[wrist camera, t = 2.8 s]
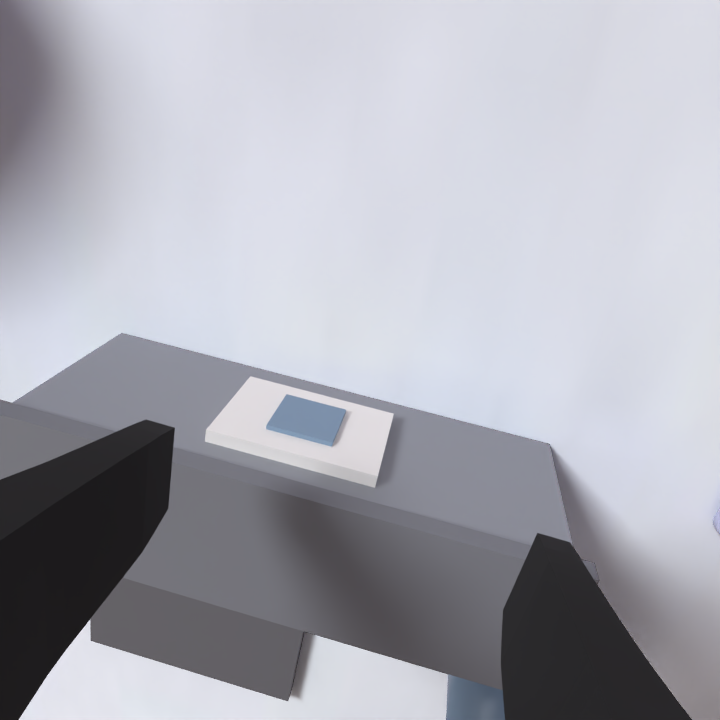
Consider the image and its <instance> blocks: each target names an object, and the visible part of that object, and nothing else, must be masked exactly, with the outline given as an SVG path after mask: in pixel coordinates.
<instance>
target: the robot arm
mask: <svg viewBox="0 0 720 720" xmlns="http://www.w3.org/2000/svg"><path fill="white" fill-rule="evenodd" d="M174 433H175V428H174V427H171V426H167V425H164V424H161V423H157V422H154V421H150V420H147V419H146V420H143V421H140V422H138V423H135V424H133V425H131V426H128V427H126V428H123V429H121V430H119V431H117V432H114V433H112V434H110V435H108V436H105V437H103V438H101V439H98V440H96V441H94V442H92V443H89V444H87V445H85V446H82V447H80V448H78V449H75V450H73V451H71V452H68V453H66V454H64V455H61V456H59V457H57V458H54V459H52V460H50V461H47V462H45V463H42V464H40V465H37V466H34V467H32V468H29V469H27V470H24V471H21V472H19V473H16V474H14V475H11V476H8V477H6V478H3V479H1V480H0V720H19V718H20V717H21V715H22V713H23V712H24V710H25V709H26V707H27V706H28V704H29V703H30V701H31V700H32V698H33V697H34V695H35V693H36V692H37V690H38V689H39V687H40V686H41V684H42V683H43V681H44V680H45V678H46V677H47V675H48V674H49V672H50V671H51V669H52V668H53V667H54V665H55V664H56V663H57V661H58V660H59V659H60V657H61V656H62V654H63V653H64V652H65V650H66V649H67V648H68V646H69V645H70V644H71V643H72V641H73V640H74V639H75V638H76V636H77V635H78V634H79V633H80V631H81V630H82V629H83V627H84V626H85V625H86V624H87V622H88V621H89V620H90V619H91V617H92V616H93V615H94V614H95V612H96V611H97V610H98V608H99V607H100V606H101V605H102V603H103V602H104V601H105V600H106V598H107V597H108V596H109V595H110V593H111V592H112V591H113V589H114V588H115V587H116V586H117V584H118V583H119V582H120V581H121V579H122V578H123V577H124V575H125V574H126V573H127V572H128V570H129V569H130V568H131V566H132V565H133V564H134V562H135V561H136V560H137V559H138V557H139V556H140V555H141V553H142V552H143V550H144V549H145V547H146V545H147V544H148V542H149V541H150V539H151V537H152V536H153V534H154V532H155V531H156V529H157V527H158V526H159V524H160V522H161V520H162V519H163V517H164V515H165V514H166V512H167V510H168V506H169V494H170V482H171V470H172V457H173V445H174ZM713 524H714V527H715V529H716V530H717V532H718V533H719V534H720V508H719V510H718V511H717V513H716V515H715V517H714V520H713ZM501 675H502V688H503V701H504V714H505V720H692V719H691V718H690V717H689V715H688V714H687V713H686V711H685V710H684V709H683V708H682V706H681V705H680V704H679V702H678V701H677V700H676V698H675V697H674V696H673V694H672V693H671V692H670V690H669V689H668V688H667V686H666V685H665V684H664V682H663V681H662V680H661V678H660V677H659V676H658V674H657V673H656V671H655V670H654V669H653V667H652V666H651V665H650V663H649V662H648V660H647V659H646V658H645V656H644V655H643V653H642V652H641V650H640V649H639V648H638V646H637V645H636V643H635V642H634V640H633V639H632V637H631V636H630V634H629V633H628V631H627V630H626V628H625V627H624V625H623V624H622V622H621V621H620V619H619V618H618V616H617V615H616V613H615V612H614V610H613V609H612V607H611V606H610V604H609V603H608V601H607V599H606V598H605V596H604V595H603V593H602V591H601V590H600V588H599V587H598V585H597V584H596V582H595V580H594V579H593V577H592V576H591V574H590V572H589V571H588V569H587V568H586V566H585V565H584V563H583V561H582V560H581V558H580V557H579V555H578V554H577V552H576V550H575V549H574V547H573V546H572V544H571V543H570V542H568V541H564V540H561V539H557V538H554V537H550V536H547V535H544V534H540V533H537V535H536V537H535V539H534V541H533V544H532V546H531V548H530V550H529V553H528V555H527V557H526V559H525V562H524V564H523V566H522V568H521V571H520V573H519V575H518V577H517V580H516V582H515V584H514V586H513V589H512V591H511V593H510V595H509V597H508V600H507V602H506V604H505V606H504V609H503V619H502V639H501Z"/></svg>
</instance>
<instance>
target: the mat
mask: <svg viewBox="0 0 720 720" xmlns="http://www.w3.org/2000/svg"><path fill="white" fill-rule="evenodd" d="M303 635H304V631H301V630H297V629H294V628H290V627H287V626H284V625H280V624H277V623H274V622H270V621H267V620H264V619H260V618H257V617H253V616H250V615H247V614H243V613H240V612H237V611H233V610H230V609H226V608H223V607H220V606H216V605H213V604H210V603H206V602H203V601H199V600H196V599H193V598H189V597H186V596H183V595H179V594H176V593H172V592H169V591H166V590H162V589H159V588H156V587H152V586H149V585H145V584H142V583H139V582H135V581H132V580H129V579H125V578H122V579H121V581H120V582H119V583H118V584H117V586H116V587H115V588H114V589H113V591H112V592H111V593H110V595H109V596H108V597H107V598H106V600H105V601H104V602H103V603H102V605H101V606H100V607H99V608H98V610H97V611H96V612H95V614H94V615H93V616H92V617H91V641H94V642H97V643H100V644H103V645H107V646H110V647H113V648H116V649H120V650H123V651H126V652H129V653H133V654H136V655H139V656H142V657H146V658H149V659H152V660H155V661H159V662H162V663H165V664H168V665H172V666H175V667H178V668H181V669H185V670H188V671H191V672H194V673H198V674H201V675H204V676H207V677H211V678H214V679H217V680H220V681H224V682H227V683H230V684H233V685H237V686H240V687H243V688H246V689H250V690H253V691H256V692H259V693H263V694H266V695H269V696H272V697H276V698H279V699H282V700H285V701H288V700H289V696H290V693H291V690H292V685H293V681H294V676H295V672H296V667H297V662H298V658H299V653H300V649H301V644H302V639H303Z"/></svg>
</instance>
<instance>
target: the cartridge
mask: <svg viewBox="0 0 720 720" xmlns="http://www.w3.org/2000/svg"><path fill="white" fill-rule="evenodd" d="M446 720H505V714H504V701H503V690H500V689H496V688H493V687H490V686H486V685H483V684H479V683H476V682H473V681H469V680H466V679H463V678H459V677H456V676H452V675H449V674H448V690H447V714H446Z"/></svg>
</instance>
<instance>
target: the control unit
mask: <svg viewBox="0 0 720 720" xmlns="http://www.w3.org/2000/svg"><path fill="white" fill-rule="evenodd" d="M146 419H147V420H150V421H154V422H157V423H161V424H164V425H167V426H171V427H174V428H175V433H174V445H173V457H172V470H171V482H170V494H169V506H168V510H167V512H166V514H165V515H164V517H163V519H162V520H161V522H160V524H159V526H158V527H157V529H156V531H155V532H154V534H153V536H152V537H151V539H150V541H149V542H148V544H147V545H146V547H145V549H144V550H143V552H142V553H141V555H140V556H139V557H138V559H137V560H136V561H135V562H134V564H133V565H132V566H131V568H130V569H129V570H128V572H127V573H126V574H125V575H124V577H123V578H125V579H129V580H132V581H135V582H139V583H142V584H145V585H149V586H152V587H156V588H159V589H162V590H166V591H169V592H172V593H176V594H179V595H183V596H186V597H189V598H193V599H196V600H199V601H203V602H206V603H210V604H213V605H216V606H220V607H223V608H226V609H230V610H233V611H237V612H240V613H243V614H247V615H250V616H253V617H257V618H260V619H264V620H267V621H270V622H274V623H277V624H280V625H284V626H287V627H290V628H294V629H297V630H301V631H304V632H307V633H311V634H314V635H317V636H321V637H324V638H328V639H331V640H334V641H338V642H341V643H344V644H348V645H351V646H355V647H358V648H361V649H365V650H368V651H371V652H375V653H378V654H382V655H385V656H388V657H392V658H395V659H398V660H402V661H405V662H409V663H412V664H415V665H419V666H422V667H425V668H429V669H432V670H436V671H439V672H442V673H446V674H449V675H452V676H456V677H459V678H463V679H466V680H469V681H473V682H476V683H479V684H483V685H486V686H490V687H493V688H496V689H500V690H503V688H502V675H501V639H502V619H503V609H504V606H505V604H506V602H507V600H508V597H509V595H510V593H511V591H512V589H513V586H514V584H515V582H516V580H517V577H518V575H519V573H520V571H521V568H522V566H523V564H524V562H525V559H526V557H527V555H528V553H529V550H530V548H531V546H532V544H533V541H534V539H535V537H536V535H537V533H540V534H544V535H547V536H550V537H554V538H557V539H561V540H564V541H568V542H570V543H571V544H572V546H573V543H572V539H571V535H570V530H569V526H568V522H567V517H566V513H565V509H564V504H563V500H562V496H561V491H560V487H559V483H558V478H557V474H556V470H555V465H554V461H553V457H552V452H551V448H550V444H547V443H543V442H539V441H536V440H532V439H528V438H524V437H520V436H516V435H512V434H509V433H505V432H501V431H497V430H493V429H489V428H486V427H482V426H478V425H474V424H470V423H466V422H462V421H459V420H455V419H451V418H447V417H443V416H439V415H435V414H432V413H428V412H424V411H420V410H416V409H412V408H408V407H405V406H401V405H397V404H393V403H389V402H385V401H381V400H378V399H374V398H370V397H366V396H362V395H358V394H354V393H351V392H347V391H343V390H339V389H335V388H331V387H327V386H324V385H320V384H316V383H312V382H308V381H304V380H300V379H297V378H293V377H289V376H285V375H281V374H277V373H273V372H270V371H266V370H262V369H258V368H254V367H250V366H246V365H243V364H239V363H235V362H231V361H227V360H223V359H220V358H216V357H212V356H208V355H204V354H200V353H196V352H193V351H189V350H185V349H181V348H177V347H173V346H169V345H166V344H162V343H158V342H154V341H150V340H146V339H142V338H139V337H135V336H131V335H127V334H123V333H121V334H119V335H118V336H116V337H115V338H113V339H112V340H110V341H108V342H107V343H105V344H104V345H102V346H101V347H99V348H97V349H96V350H94V351H93V352H91V353H90V354H88V355H86V356H85V357H83V358H82V359H80V360H79V361H77V362H76V363H74V364H72V365H71V366H69V367H68V368H66V369H65V370H63V371H61V372H60V373H58V374H57V375H55V376H54V377H52V378H50V379H49V380H47V381H46V382H44V383H43V384H41V385H40V386H38V387H36V388H35V389H33V390H32V391H30V392H29V393H27V394H25V395H24V396H22V397H21V398H19V399H18V400H16V401H14V402H13V403H10V402H7V401H3V400H0V480H1V479H3V478H6V477H8V476H11V475H14V474H16V473H19V472H21V471H24V470H27V469H29V468H32V467H34V466H37V465H40V464H42V463H45V462H47V461H50V460H52V459H54V458H57V457H59V456H61V455H64V454H66V453H68V452H71V451H73V450H75V449H78V448H80V447H82V446H85V445H87V444H89V443H92V442H94V441H96V440H98V439H101V438H103V437H105V436H108V435H110V434H112V433H114V432H117V431H119V430H121V429H123V428H126V427H128V426H131V425H133V424H135V423H138V422H140V421H143V420H146ZM581 560H582V559H581ZM582 561H583V563H584V565H585V566H586V568H587V569H588V571H589V572H590V574H591V576H592V577H593V579H594V580H595V582H596V584H598V582H599V578H598V574H597V571H596V567H595V563H593V562H590V561H586V560H582Z"/></svg>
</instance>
